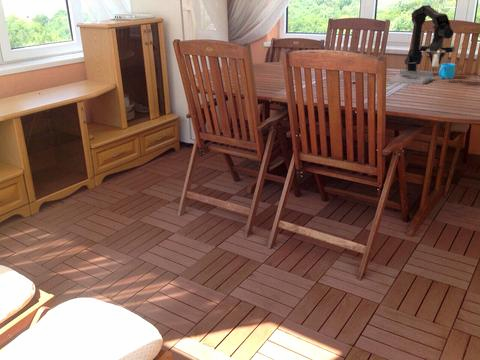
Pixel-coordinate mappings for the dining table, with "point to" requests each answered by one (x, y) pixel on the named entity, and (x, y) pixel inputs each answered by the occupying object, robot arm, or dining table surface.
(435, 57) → the cream domed knob
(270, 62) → the dining table surface
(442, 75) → the mug
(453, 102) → the dining table surface
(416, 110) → the dining table surface
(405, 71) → the jig
